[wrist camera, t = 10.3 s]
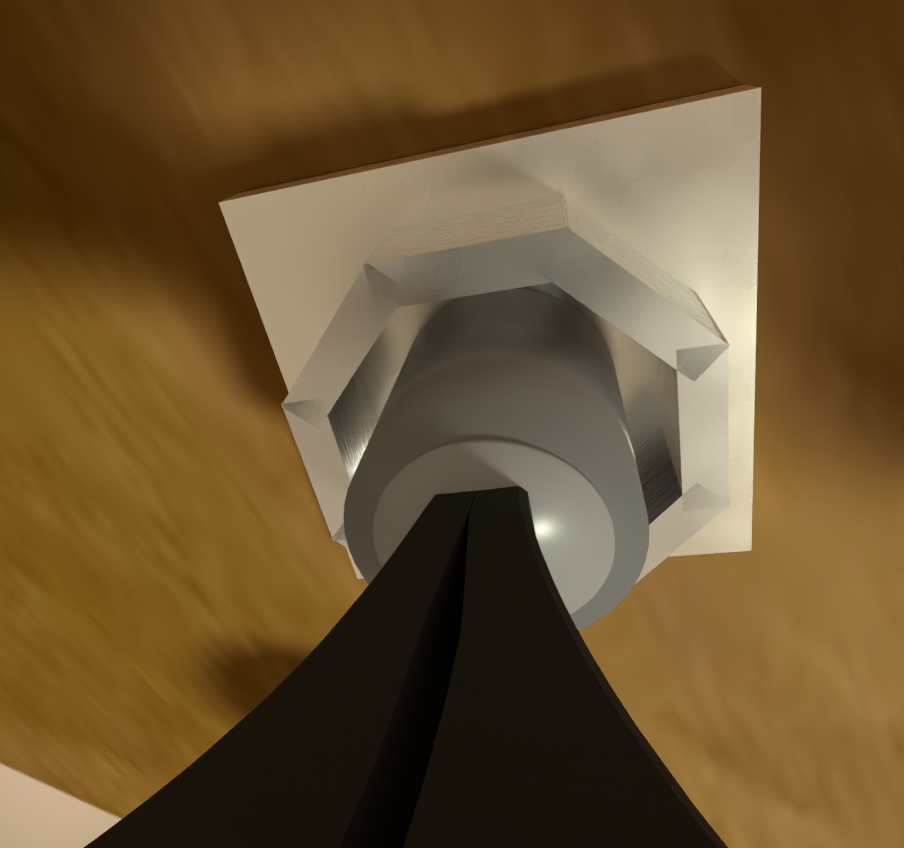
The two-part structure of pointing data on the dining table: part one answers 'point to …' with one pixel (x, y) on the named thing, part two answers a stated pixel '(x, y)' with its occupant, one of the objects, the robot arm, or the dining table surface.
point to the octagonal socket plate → (536, 288)
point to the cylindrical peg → (510, 442)
